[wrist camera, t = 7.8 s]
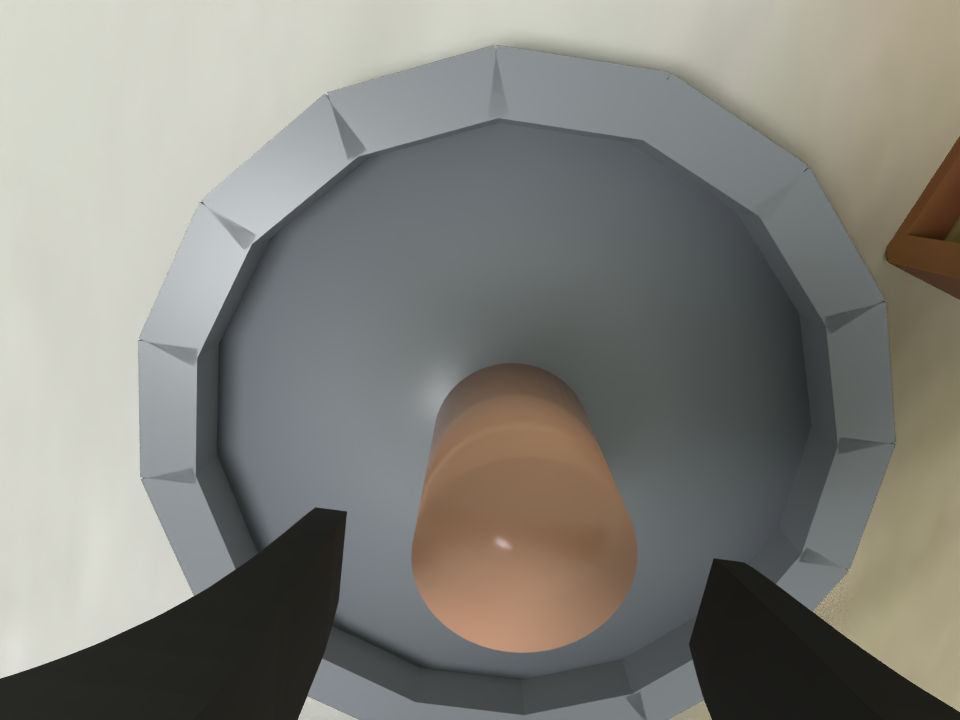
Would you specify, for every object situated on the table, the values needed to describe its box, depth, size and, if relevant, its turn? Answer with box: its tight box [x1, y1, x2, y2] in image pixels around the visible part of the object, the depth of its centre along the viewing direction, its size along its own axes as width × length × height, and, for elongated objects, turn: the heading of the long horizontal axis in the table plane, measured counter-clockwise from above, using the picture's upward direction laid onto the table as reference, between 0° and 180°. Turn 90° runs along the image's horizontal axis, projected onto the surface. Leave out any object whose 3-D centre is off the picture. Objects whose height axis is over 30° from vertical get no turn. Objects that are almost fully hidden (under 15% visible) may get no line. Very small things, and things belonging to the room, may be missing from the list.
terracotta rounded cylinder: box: [411, 363, 638, 653], centre depth 15 cm, size 4×4×6 cm
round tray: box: [138, 45, 896, 720], centre depth 18 cm, size 20×20×2 cm
